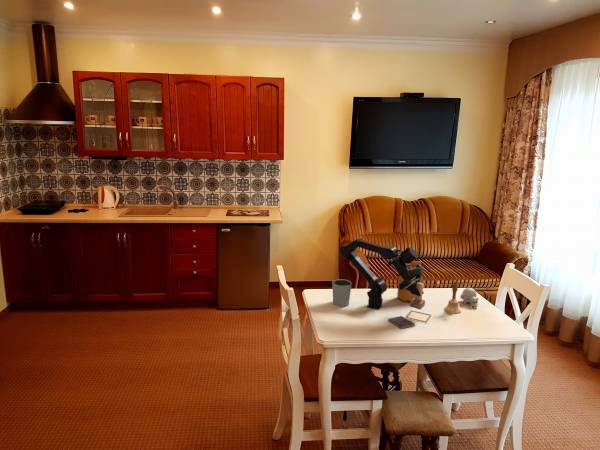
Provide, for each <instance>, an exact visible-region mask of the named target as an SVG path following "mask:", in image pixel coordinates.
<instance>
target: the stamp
mask: <svg viewBox="0 0 600 450" xmlns="http://www.w3.org/2000/svg"><path fill="white" fill-rule="evenodd" d="M424 285H425V284H424V282H423V283H420V282H418V283H417V284H416V287H417V289H418V291H419V292H420V294H421V296H420V297H419V296H417V295H415V298H413V299H412V300H411V301H409V303H410V304H409V306H410V308H412V309H416V310H422V309H423V308H424V307H425V305H426V300H425V299H423V295H424V294H423V292H424Z"/></svg>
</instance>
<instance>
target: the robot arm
mask: <svg viewBox="0 0 600 450" xmlns="http://www.w3.org/2000/svg"><path fill="white" fill-rule="evenodd" d="M358 248H361V249H364V250H366V251H369V252H372V253H376V254H378V255H379V256H380V257H382V258H383V259H386V260H388V267H391V266H393V268H394V269H395V271H396V273H398V274H397V276H398V277H399V276H401V277H402V279H403V280H404V281H402V283H401V284H399V289H400V290H402V289H404V288H405V287H407V288H405V290H408V291H410V292H412V293H414V294H415V295H417V296H419V297H420V296H421V294H420V292H419V291H418V289H417V287H416V284H417V283H418V282H420V281H421V278H420V277H421V276H422V277H424V274H423V273H424V272H425V271H424V269H425V267H424V266H423V265H422V264H421V265H420V264H418V265H416V267H415V268H411V267H410V266H409V267H408V266H407V265H406V263H407V264H410V263H411V262H412V261H415V260H417V259H418V258H419V254H418V252H417V251H416V250H415V249H413V248H412V247H411V246H407V247H406V248H405V249H404V250H402V249H397V248H398V247H396V246H395V245H394V246H393V245H383V244H382V245H381V244H379V243H375V242H371V241H369V240H366V239H363V238H360V237H358V238H356V239H354V240H353V241H352V242H350V243H347V244H344V245H341V246H340V247H339V254H340V256H341V257H343V258H344V259H345V260H347V261H349V262H351V264H352V265H353V266H354V267H355V269H356V270H357V271H358V272H359V273H360V274H361V276H362V277H363V278H364V279H365V280H366V281H367V283H368V286H369V289H370V290H368V291H367V292H366V295H367V297H368V302H367V306H366V307H367V308H369V309H374V310H375V309H376V310H380V309H381V308H382V306H383V300H384V299H383V294H384V293H385V292H387V290H388V284H387V281H385V280H384V279H383V277H382V276H379V277H378V276H376V275H375V274H374V273H373V272H372V270H371V269H370V268H369V267H368V266H367V265H366V263H364V261H363V260H362V259H361V258H360V256H359V255H358V252H357V249H358ZM419 278H420V279H419ZM422 295H424V291H423V294H422Z"/></svg>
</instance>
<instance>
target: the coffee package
mask: <svg viewBox="0 0 600 450" xmlns="http://www.w3.org/2000/svg"><path fill="white" fill-rule="evenodd" d="M418 264H420V265H421V266H422V261H421V260H420V261H418V260H417V261H415V260H414V261H412V262H411V263H410V264H407V263H406V265H407V266H408V267H409V266H410V267H411V268H415V267H416V265H418ZM423 277H424V276H421V277H420V278H421V281H420V283H423V284H424V278H423ZM420 278H419V279H420ZM402 281H404V280H403V279H402V277H401V276H398V282H397V283H398V284H397V293H396V294H397V296H396V297H397V298H398V299H400V301H403V302H411V300H412V299H413V298H415V294H414V293H412V292H410V291H408V290H405V288H407V287H405V288H404V289H402V290H400V289H399V284H401V283H402Z"/></svg>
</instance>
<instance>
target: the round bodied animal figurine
mask: <svg viewBox="0 0 600 450" xmlns="http://www.w3.org/2000/svg"><path fill="white" fill-rule="evenodd" d="M459 297H460V299H461V300H462V302H463V304H465V305H466V304H468V303H469V304H471V306H472V307H473V308H474V309H475V308H477V307H479V304H478V302H479V297H477V291H476V289H474V288H472V287H466V288H465V289H463V290H462V293H461V294H460V296H459Z"/></svg>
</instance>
